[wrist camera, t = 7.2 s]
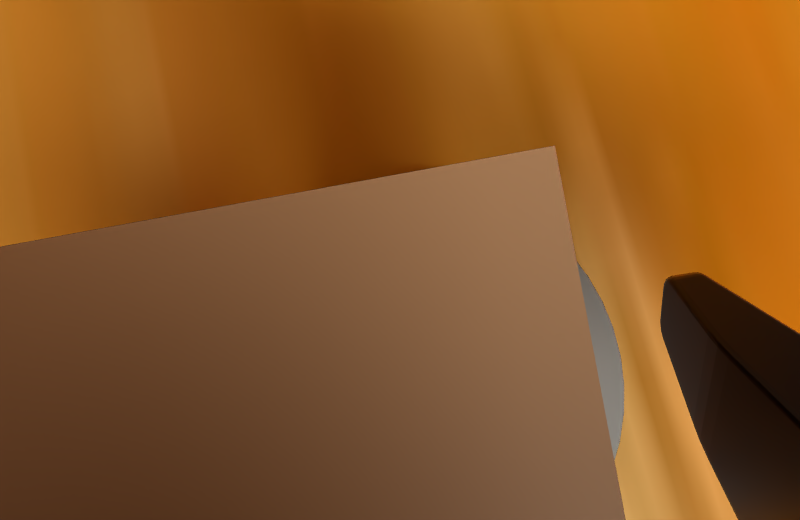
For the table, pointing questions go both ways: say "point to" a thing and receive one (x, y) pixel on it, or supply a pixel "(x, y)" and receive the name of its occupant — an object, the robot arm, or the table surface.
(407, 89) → the table surface
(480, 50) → the table surface
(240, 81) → the table surface
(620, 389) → the slate coaster
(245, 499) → the oak block
